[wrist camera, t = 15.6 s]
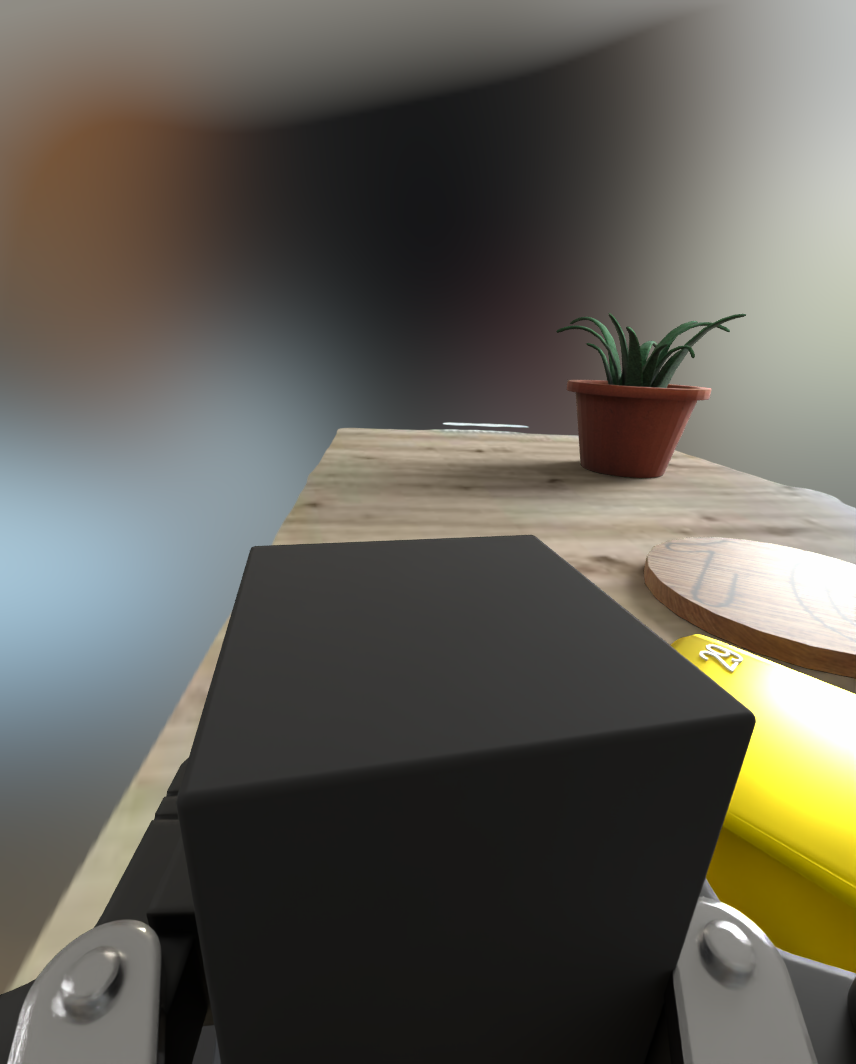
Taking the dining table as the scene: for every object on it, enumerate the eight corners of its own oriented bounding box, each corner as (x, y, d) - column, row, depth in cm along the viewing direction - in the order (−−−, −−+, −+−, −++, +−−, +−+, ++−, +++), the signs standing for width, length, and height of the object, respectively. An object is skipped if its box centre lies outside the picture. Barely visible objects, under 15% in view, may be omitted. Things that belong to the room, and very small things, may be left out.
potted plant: (514, 462, 104) (530, 308, 94) (574, 446, 128) (592, 322, 118) (691, 495, 84) (736, 304, 74) (723, 468, 108) (760, 321, 98)
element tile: (980, 1105, 15) (1054, 1012, 13) (559, 795, 25) (573, 720, 24) (977, 819, 25) (1020, 745, 23) (675, 678, 35) (690, 620, 33)
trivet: (629, 622, 42) (633, 602, 42) (653, 537, 63) (656, 523, 63) (1037, 728, 32) (1051, 704, 31) (903, 583, 53) (910, 567, 52)
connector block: (277, 1402, 7) (170, 802, 3) (289, 1001, 11) (250, 544, 7) (577, 1276, 8) (763, 716, 4) (483, 953, 12) (534, 533, 8)
